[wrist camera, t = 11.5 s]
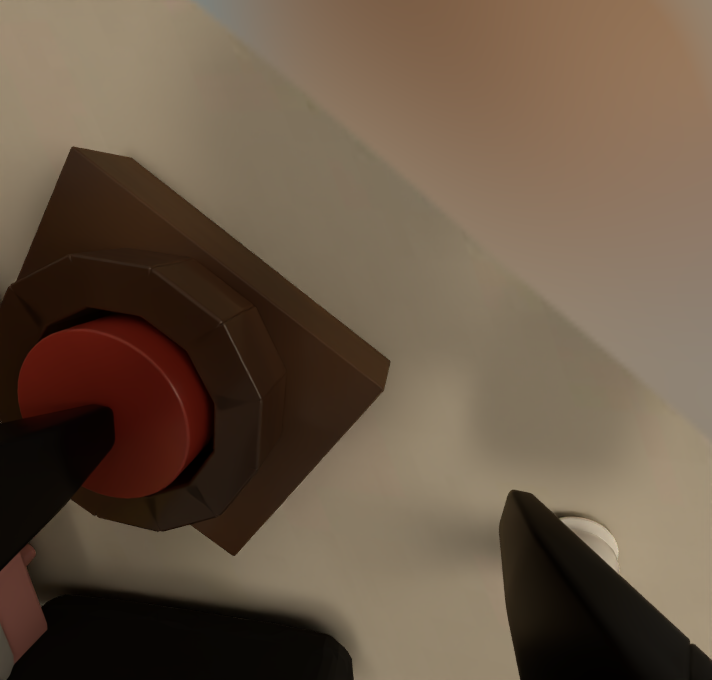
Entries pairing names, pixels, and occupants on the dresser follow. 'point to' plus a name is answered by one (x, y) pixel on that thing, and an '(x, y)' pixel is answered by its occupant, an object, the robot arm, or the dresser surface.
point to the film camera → (172, 646)
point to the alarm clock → (18, 611)
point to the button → (124, 398)
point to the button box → (192, 341)
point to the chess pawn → (595, 538)
